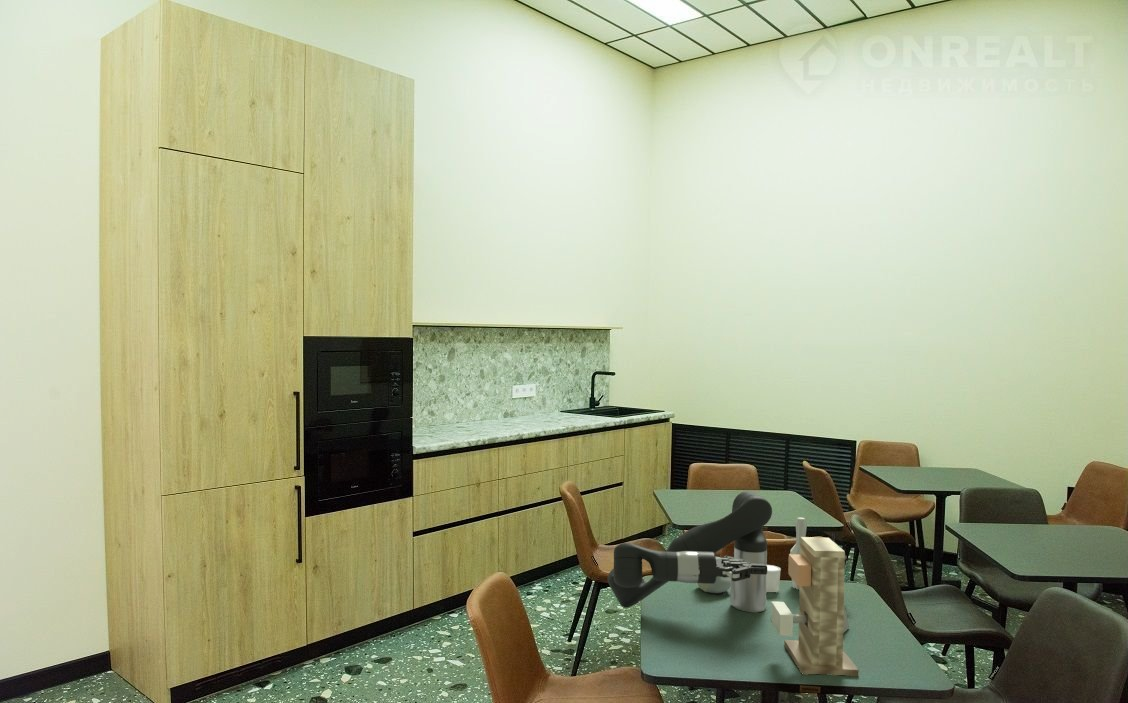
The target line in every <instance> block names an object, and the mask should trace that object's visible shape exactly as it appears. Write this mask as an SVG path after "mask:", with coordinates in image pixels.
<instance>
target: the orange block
mask: <svg viewBox="0 0 1128 703" xmlns="http://www.w3.org/2000/svg"><path fill="white" fill-rule="evenodd" d="M787 573H788V576H789V577H790V578H791V580H792V579H793V580H794V582H795V583H796V584H797V585H798V586H811V565H810V564H809V563H808V561H807V560H806V559H805V558H804V557H803V556H802V555H801V554H790V553H788V572H787Z"/></svg>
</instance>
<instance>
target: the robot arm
mask: <svg viewBox="0 0 1128 703" xmlns="http://www.w3.org/2000/svg"><path fill="white" fill-rule="evenodd" d="M731 510H732V511H731V512H730V513H729V514H727V515H726V516H724V517H722V518H720V519H718V520H715V521H710V522H708V523H707V522H706V523H704V524H700V525H697V526H695V527H692V528H690V529H688V530H686V531H684V533H682V534H680V535H678V536H677V537H675V538H674V539H673V540H672V541H671V542H670V544H669V546H668V548H667V550H666V551H662V550H655V549H650V548H646V547H643V546H640V545H637V544H635V543H630V542H622V543H619V544H617V545H616V546H615V548H614V549H613V568H612V569H611V570H610V571H609V573H608V574H607V582H608V585H609V587H610V589H611V591H612V592H613V595H614V596H615V598H616V599H617V601H618V603H619V605H620V606H621V607H622V608H624V609H627V608H630V607H633V606H635V605H637V604H638V603H639V602H642V601H643V600H644V599H645V598H647V597H648V596H650V595H651V594H653V593H654V592H656V591H657V590H658V589H660V588H661V587H663V586H664V585H665V584H667V583H668V582H677V583H678V582H680V583H684V584H685V583H686V584H697V583H706V584H714V583H715V581H716V577H717V576H719V577H723V578H730V579H731V587H730V606H732V607H734V608H735V609H737V610H739V611H742V612H746V613H747V612H748V613H761V612H763V611H765V610H766V609H767V592H766V574H767V565H768V563H767V561H768V558H767V557H768V542H767V538H766V536H765V534H764V529H763V527H764V526H766V525H767V524H768V523H769V521H770V520H771V517H772V515H773V508H772V505H771V503H770V502H769V501H768V500H767V499H765V498H764V497H762V496H761V495H759V494H757V493H755V492H753V491H746V490H745V491H742V492H740V493H738V494H737V496H735V498H734V499H733V502H732V507H731ZM733 542H734V543H733ZM732 543H733V544H734V546H733V548H734V551H733V555H734V556H728V555H724V556H723V557H721V558H722V559H716V557H717V556H716V553H718V552H719V551H720V550H723V549H724V548H725V547H727V546H728V545H730V544H732ZM715 556H716V557H715ZM643 560H645V561H646V562H648V564H649V566H650V568H651V574H652V577H651V578H650V579H649V580H648V581H647V582H645V580H644V578H643Z"/></svg>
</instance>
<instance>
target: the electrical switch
mask: <svg viewBox="0 0 1128 703" xmlns="http://www.w3.org/2000/svg"><path fill="white" fill-rule="evenodd" d="M845 608H846V607H845V606H844V619H843V634H845V633H846V632H847V631H848V630H849V628H850V624H849V619H848V615H847V611H846V609H845Z"/></svg>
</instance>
